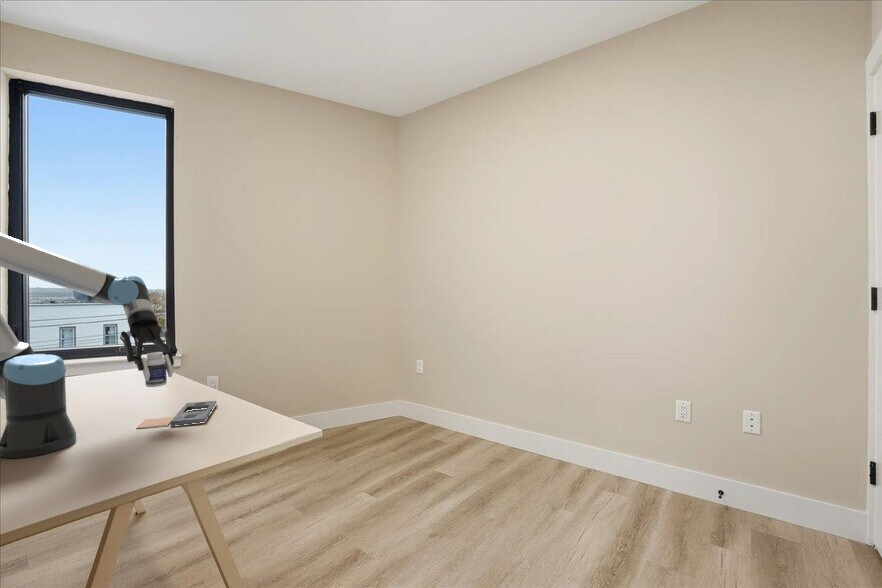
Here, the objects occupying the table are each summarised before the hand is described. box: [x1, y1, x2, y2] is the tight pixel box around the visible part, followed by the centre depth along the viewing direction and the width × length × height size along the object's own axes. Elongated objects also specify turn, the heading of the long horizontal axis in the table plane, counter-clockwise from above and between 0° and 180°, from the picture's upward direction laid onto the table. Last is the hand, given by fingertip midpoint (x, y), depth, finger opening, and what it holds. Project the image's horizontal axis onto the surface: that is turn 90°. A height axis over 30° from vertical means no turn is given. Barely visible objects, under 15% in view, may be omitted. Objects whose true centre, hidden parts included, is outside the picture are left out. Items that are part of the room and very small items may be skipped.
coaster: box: [135, 416, 175, 430], centre depth 137 cm, size 8×8×1 cm
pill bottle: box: [145, 351, 167, 388], centre depth 136 cm, size 5×5×10 cm
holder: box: [169, 400, 217, 427], centre depth 144 cm, size 20×9×2 cm, turn 17°
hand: (159, 376), depth 134 cm, fingers closed on pill bottle, 5 cm apart
